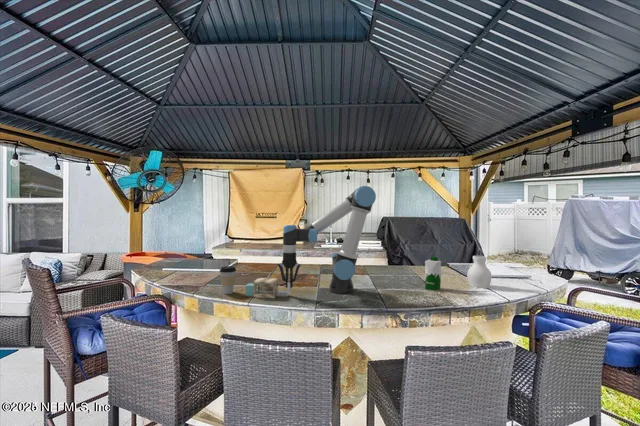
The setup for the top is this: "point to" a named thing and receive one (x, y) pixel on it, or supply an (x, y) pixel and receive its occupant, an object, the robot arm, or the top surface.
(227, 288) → the coffee cup
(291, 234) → the robot arm
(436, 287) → the milk carton
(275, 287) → the tunnel
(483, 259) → the vase
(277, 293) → the rod
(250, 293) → the block
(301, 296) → the top surface
